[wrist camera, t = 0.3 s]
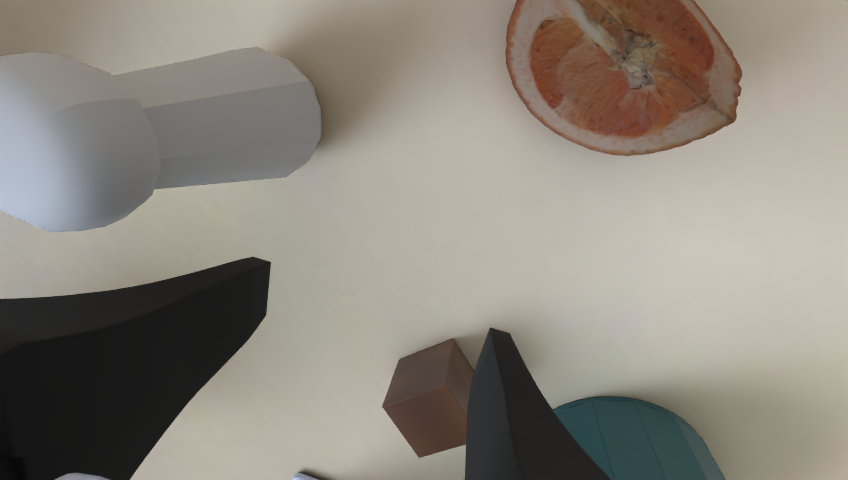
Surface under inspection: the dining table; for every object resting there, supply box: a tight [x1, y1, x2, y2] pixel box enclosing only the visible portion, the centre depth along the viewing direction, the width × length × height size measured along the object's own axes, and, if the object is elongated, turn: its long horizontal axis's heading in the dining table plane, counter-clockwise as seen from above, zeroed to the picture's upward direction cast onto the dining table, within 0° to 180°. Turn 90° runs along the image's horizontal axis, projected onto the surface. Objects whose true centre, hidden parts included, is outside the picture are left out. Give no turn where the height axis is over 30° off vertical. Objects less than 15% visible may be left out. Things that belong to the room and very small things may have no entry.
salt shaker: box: [0, 47, 322, 232], centre depth 15 cm, size 6×6×13 cm
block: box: [383, 339, 474, 458], centre depth 24 cm, size 4×4×4 cm
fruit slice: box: [506, 0, 742, 156], centre depth 15 cm, size 8×7×5 cm
